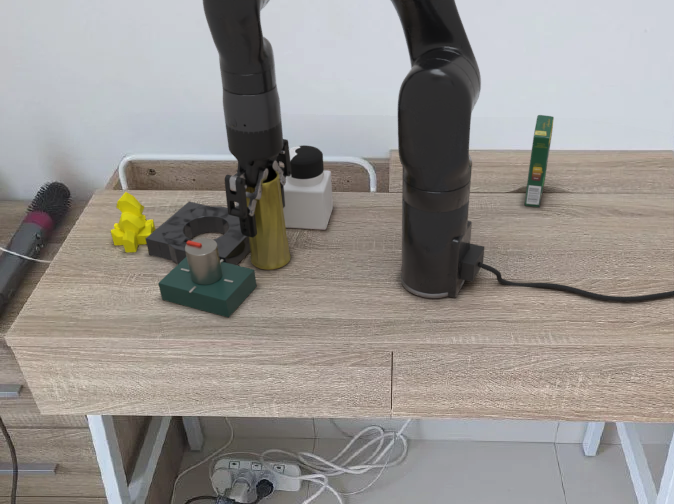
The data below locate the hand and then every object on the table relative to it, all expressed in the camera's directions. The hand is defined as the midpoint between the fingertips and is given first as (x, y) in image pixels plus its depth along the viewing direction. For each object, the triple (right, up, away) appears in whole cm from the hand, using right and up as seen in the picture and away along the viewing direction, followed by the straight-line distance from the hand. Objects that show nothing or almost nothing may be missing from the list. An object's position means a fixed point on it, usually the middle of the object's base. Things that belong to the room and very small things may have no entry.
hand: (264, 221), depth 116 cm
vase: (0, -5, +4) cm, 7 cm away
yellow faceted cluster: (-22, -1, +9) cm, 24 cm away
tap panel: (-7, -11, -2) cm, 13 cm away
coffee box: (+43, +7, +19) cm, 48 cm away
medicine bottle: (+5, +3, +14) cm, 15 cm away
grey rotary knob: (-7, -9, -4) cm, 12 cm away
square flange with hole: (-10, -2, +7) cm, 13 cm away
